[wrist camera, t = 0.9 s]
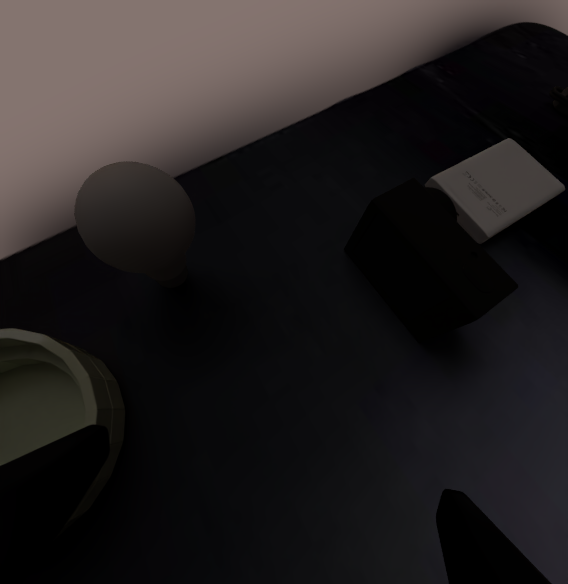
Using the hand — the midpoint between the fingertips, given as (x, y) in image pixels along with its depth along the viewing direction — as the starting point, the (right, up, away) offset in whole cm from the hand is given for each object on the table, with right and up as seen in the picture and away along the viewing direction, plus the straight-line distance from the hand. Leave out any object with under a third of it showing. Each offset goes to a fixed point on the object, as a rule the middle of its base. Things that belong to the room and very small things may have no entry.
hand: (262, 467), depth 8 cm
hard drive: (+23, +15, +24) cm, 36 cm away
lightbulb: (-8, +6, +17) cm, 20 cm away
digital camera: (+11, +6, +19) cm, 22 cm away
